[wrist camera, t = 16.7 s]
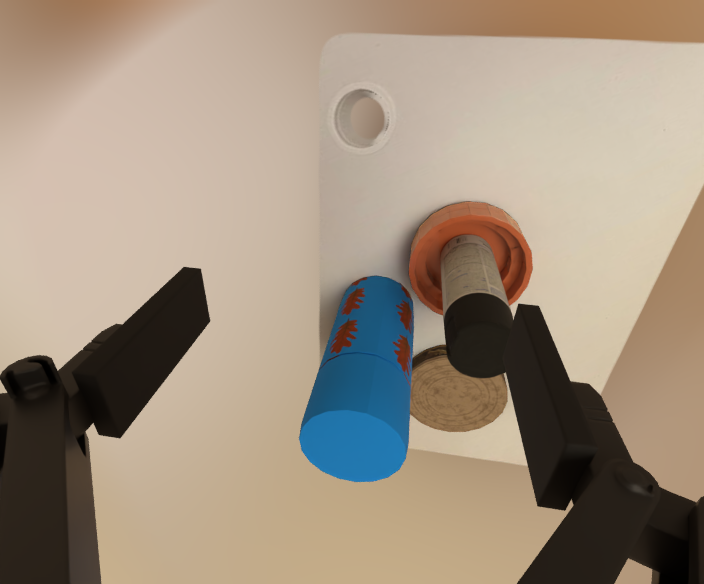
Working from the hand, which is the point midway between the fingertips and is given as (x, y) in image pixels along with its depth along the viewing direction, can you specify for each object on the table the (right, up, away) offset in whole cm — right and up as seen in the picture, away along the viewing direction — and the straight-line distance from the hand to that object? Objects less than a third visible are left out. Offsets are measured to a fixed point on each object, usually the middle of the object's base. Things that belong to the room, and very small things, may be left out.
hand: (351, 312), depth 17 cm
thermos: (+4, -1, +44) cm, 44 cm away
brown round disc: (+16, -14, +49) cm, 54 cm away
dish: (+15, +6, +37) cm, 41 cm away
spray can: (+15, +6, +37) cm, 40 cm away
